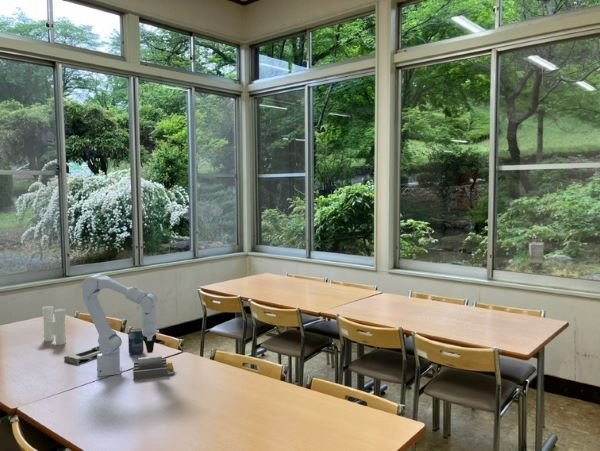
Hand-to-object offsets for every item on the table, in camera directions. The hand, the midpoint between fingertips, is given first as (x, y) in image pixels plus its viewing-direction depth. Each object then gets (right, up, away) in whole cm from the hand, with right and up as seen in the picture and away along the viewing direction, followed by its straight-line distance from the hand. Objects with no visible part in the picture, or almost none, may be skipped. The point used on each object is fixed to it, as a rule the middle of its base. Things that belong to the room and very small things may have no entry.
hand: (150, 352), depth 208 cm
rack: (+1, -9, +1) cm, 9 cm away
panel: (0, -8, +1) cm, 8 cm away
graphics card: (-35, -9, +23) cm, 43 cm away
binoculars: (-66, -7, +46) cm, 80 cm away
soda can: (-15, -8, +26) cm, 31 cm away
